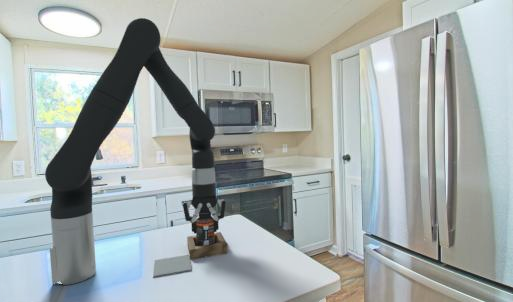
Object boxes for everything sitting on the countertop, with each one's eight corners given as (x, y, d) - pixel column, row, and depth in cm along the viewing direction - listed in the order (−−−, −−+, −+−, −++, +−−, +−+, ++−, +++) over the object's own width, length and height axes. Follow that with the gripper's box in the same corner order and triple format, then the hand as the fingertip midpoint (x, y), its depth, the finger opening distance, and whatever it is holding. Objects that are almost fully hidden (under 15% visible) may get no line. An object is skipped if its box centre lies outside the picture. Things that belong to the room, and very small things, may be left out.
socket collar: (190, 259, 82) (189, 249, 82) (187, 245, 93) (187, 236, 93) (227, 253, 85) (227, 244, 85) (220, 240, 96) (220, 232, 96)
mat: (153, 277, 72) (153, 276, 72) (154, 261, 81) (154, 260, 81) (191, 270, 75) (191, 269, 75) (188, 255, 84) (188, 254, 84)
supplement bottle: (211, 249, 86) (210, 214, 85) (193, 248, 87) (192, 214, 86) (217, 242, 92) (216, 209, 91) (200, 241, 93) (199, 209, 92)
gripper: (179, 184, 83) (181, 238, 84) (226, 182, 86) (228, 234, 87) (182, 180, 91) (184, 230, 92) (225, 178, 93) (226, 226, 94)
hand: (205, 231), depth 89 cm, fingers closed on supplement bottle, 6 cm apart
